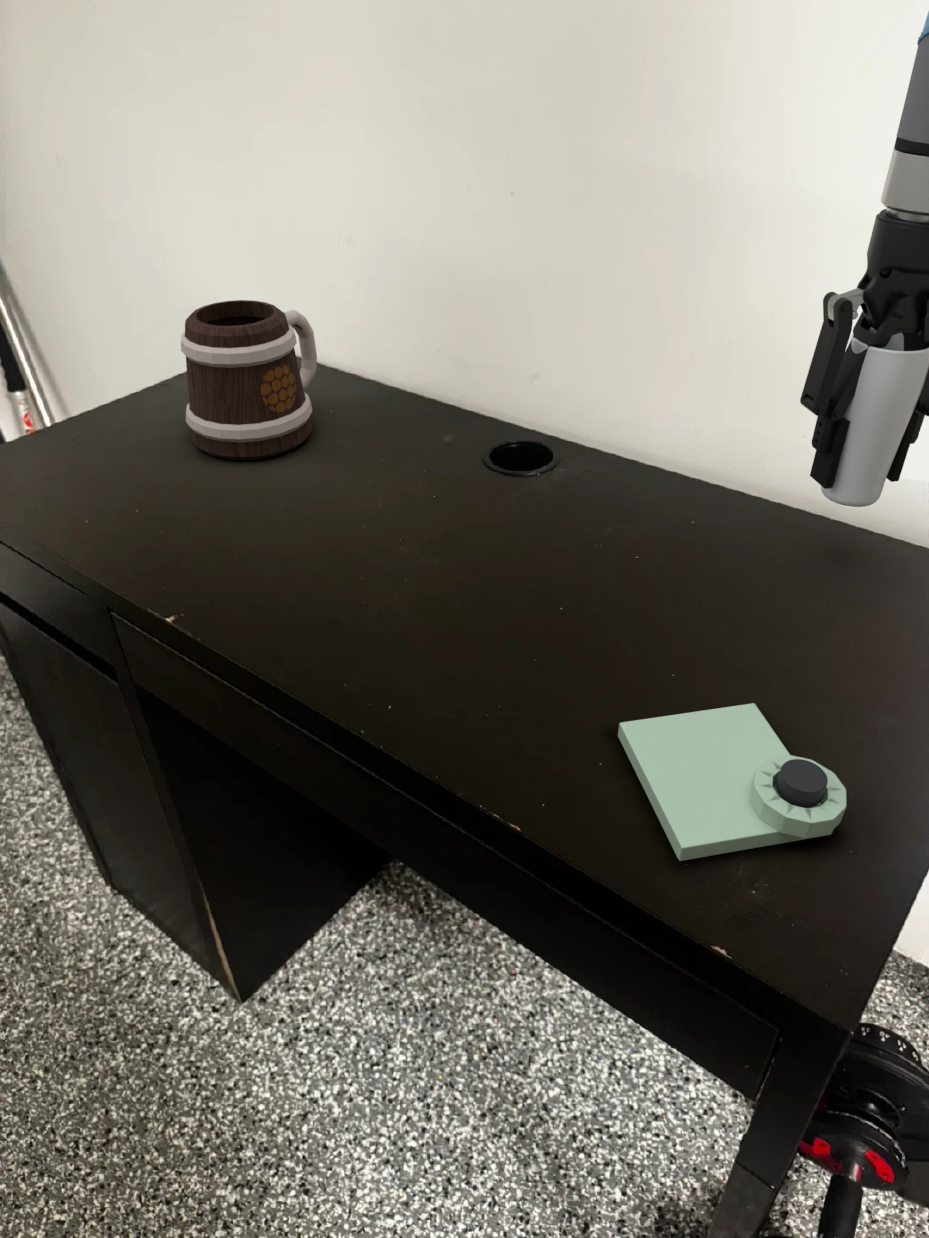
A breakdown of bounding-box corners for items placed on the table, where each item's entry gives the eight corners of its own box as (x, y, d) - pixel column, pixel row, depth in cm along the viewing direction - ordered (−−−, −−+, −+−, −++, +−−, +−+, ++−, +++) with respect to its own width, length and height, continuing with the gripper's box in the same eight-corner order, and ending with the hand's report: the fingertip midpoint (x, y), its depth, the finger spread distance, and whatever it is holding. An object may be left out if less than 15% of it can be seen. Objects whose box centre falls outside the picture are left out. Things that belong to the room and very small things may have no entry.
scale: (852, 843, 60) (864, 813, 58) (684, 873, 58) (691, 843, 56) (762, 714, 70) (770, 685, 68) (617, 735, 68) (621, 706, 66)
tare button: (830, 804, 59) (836, 788, 58) (789, 811, 58) (794, 795, 58) (808, 771, 61) (813, 755, 60) (767, 778, 61) (772, 762, 60)
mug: (255, 475, 101) (235, 345, 92) (163, 443, 108) (136, 319, 99) (364, 415, 115) (355, 296, 106) (276, 390, 121) (261, 276, 112)
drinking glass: (813, 509, 83) (855, 349, 74) (808, 476, 88) (846, 323, 79) (891, 517, 81) (943, 355, 72) (881, 483, 87) (928, 329, 78)
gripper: (1003, 197, 74) (920, 452, 88) (793, 207, 71) (741, 470, 85) (1070, 217, 68) (970, 486, 82) (844, 229, 65) (779, 507, 79)
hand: (854, 477), depth 83 cm, fingers closed on drinking glass, 6 cm apart
